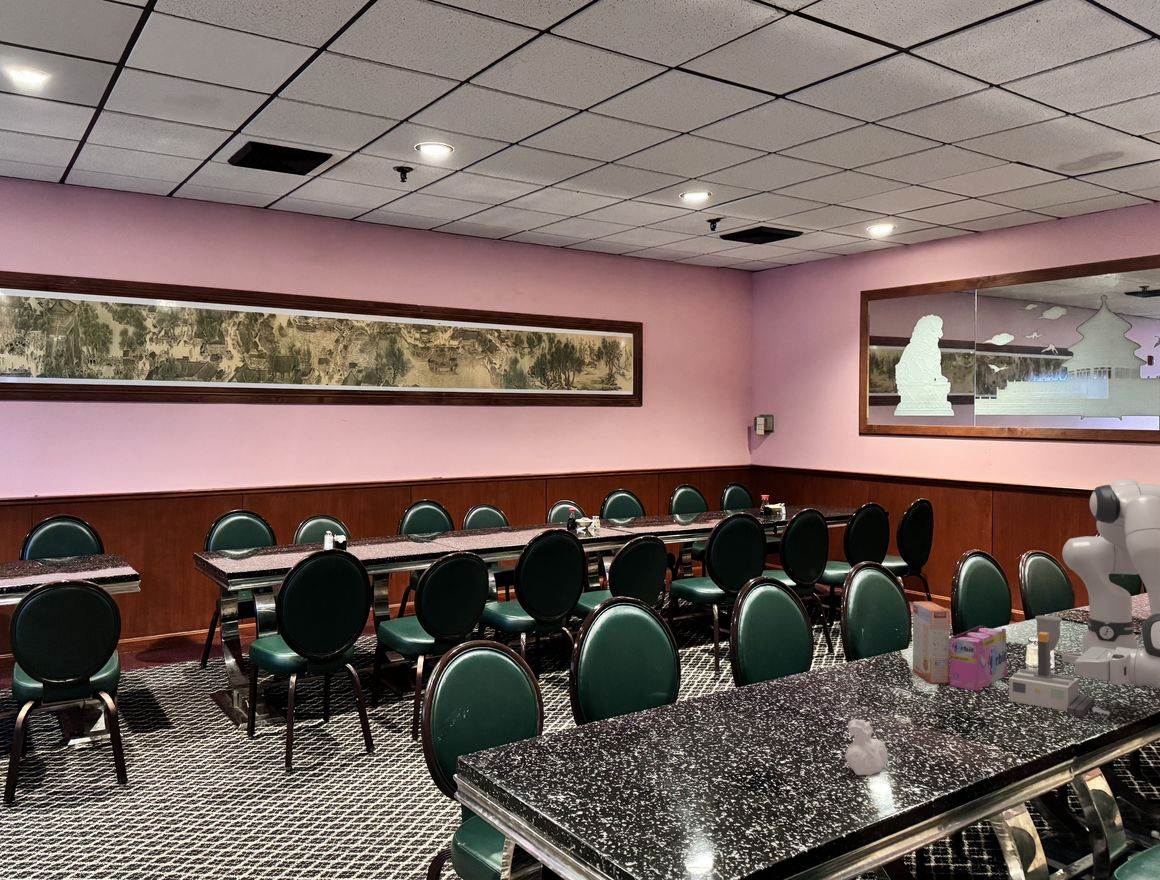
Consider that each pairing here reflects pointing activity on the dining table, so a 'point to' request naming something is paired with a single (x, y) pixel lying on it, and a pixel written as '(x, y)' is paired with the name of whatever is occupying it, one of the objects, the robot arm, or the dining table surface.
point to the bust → (865, 750)
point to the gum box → (977, 658)
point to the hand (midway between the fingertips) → (1063, 656)
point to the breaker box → (1043, 690)
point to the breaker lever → (1043, 656)
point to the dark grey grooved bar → (1081, 705)
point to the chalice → (1049, 631)
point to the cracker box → (931, 642)
